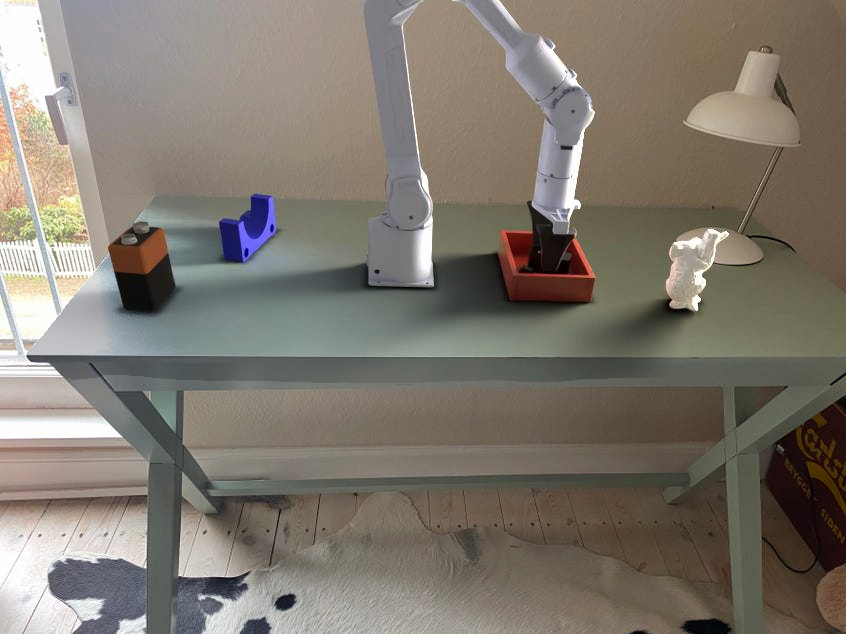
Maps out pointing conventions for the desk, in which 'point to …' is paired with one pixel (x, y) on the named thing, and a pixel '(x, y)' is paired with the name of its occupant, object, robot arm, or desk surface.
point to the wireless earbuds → (535, 266)
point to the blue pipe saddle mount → (248, 229)
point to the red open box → (537, 284)
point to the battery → (142, 267)
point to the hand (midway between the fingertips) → (544, 258)
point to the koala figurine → (690, 269)
